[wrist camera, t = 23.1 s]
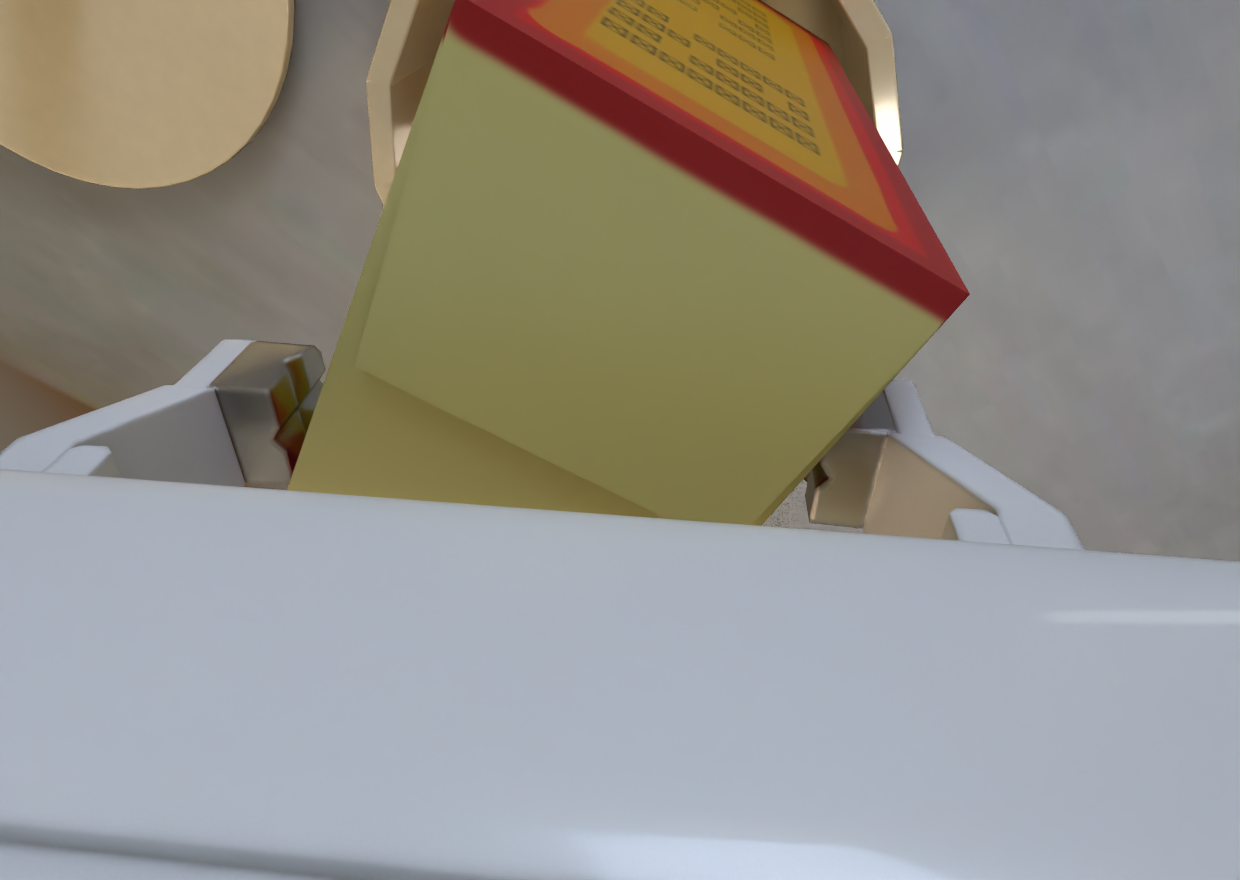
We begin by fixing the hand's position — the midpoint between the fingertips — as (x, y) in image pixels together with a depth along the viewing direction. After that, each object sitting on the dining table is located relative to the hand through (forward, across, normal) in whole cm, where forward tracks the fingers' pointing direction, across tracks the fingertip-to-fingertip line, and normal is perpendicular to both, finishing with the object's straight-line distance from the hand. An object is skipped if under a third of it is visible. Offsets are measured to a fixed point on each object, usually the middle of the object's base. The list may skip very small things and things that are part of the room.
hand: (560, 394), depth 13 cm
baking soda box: (+14, 0, -1) cm, 14 cm away
